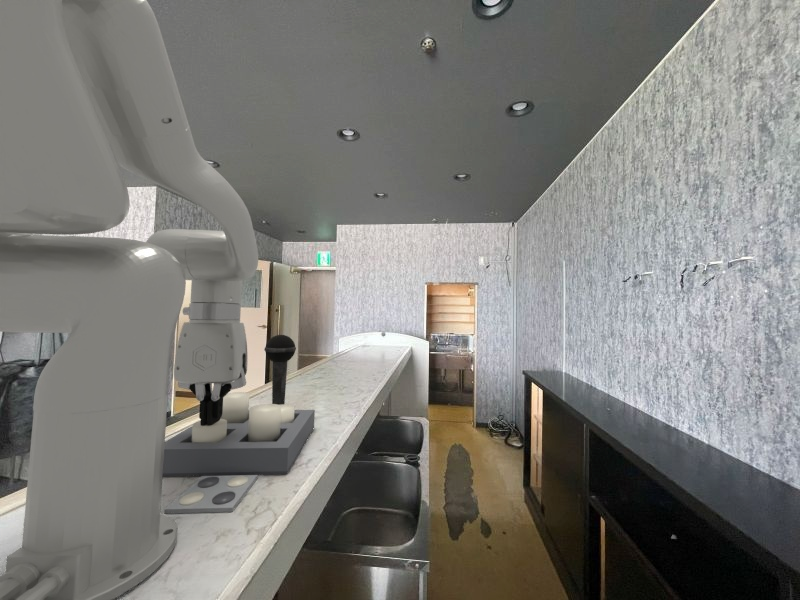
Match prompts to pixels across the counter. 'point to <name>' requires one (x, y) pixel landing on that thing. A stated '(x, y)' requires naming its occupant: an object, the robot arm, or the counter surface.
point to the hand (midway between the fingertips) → (210, 422)
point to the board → (238, 451)
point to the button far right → (287, 413)
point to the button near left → (209, 432)
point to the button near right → (264, 423)
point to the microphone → (279, 364)
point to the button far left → (236, 407)
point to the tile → (213, 494)
